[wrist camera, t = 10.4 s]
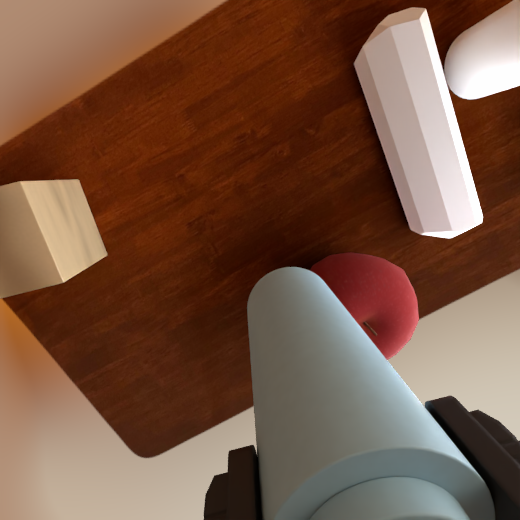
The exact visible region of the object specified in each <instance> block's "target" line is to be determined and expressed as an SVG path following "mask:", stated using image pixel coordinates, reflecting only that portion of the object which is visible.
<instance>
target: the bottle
mask: <svg viewBox="0 0 520 520" xmlns="http://www.w3.org/2000/svg"><path fill="white" fill-rule="evenodd" d="M247 314H248V328H249V343H250V357H251V371H252V385H253V400H254V413H255V428H256V442H257V457H258V471H259V485H260V500H261V514H262V520H495V508H494V502H493V499H492V496H491V493H490V491H489V489H488V487H487V485H486V484H485V482H484V480H483V479H482V478H481V477H480V475H479V474H478V473H477V472H476V470H475V469H474V468H473V467H472V465H471V464H470V463H469V462H468V460H467V459H466V458H465V457H464V455H463V454H462V453H461V452H460V450H459V449H458V448H457V447H456V445H455V444H454V443H453V442H452V440H451V439H450V438H449V437H448V435H447V434H446V433H445V432H444V430H443V429H442V428H441V427H440V425H439V424H438V423H437V422H436V420H435V419H434V418H433V417H432V415H431V414H430V413H429V412H428V410H427V409H426V408H425V407H424V405H423V404H422V403H421V402H420V400H418V398H417V397H416V395H415V394H414V393H413V392H412V391H411V389H410V388H409V387H408V386H407V384H406V383H405V382H404V381H403V380H402V378H401V377H400V376H399V374H398V373H397V372H396V371H395V369H394V368H393V367H392V366H391V364H390V363H389V362H388V361H387V359H386V358H385V357H384V356H383V354H382V353H381V352H380V351H379V349H378V348H377V347H376V346H375V344H374V343H373V342H372V341H371V339H370V338H369V337H368V336H367V334H366V333H365V332H364V331H363V329H362V328H361V327H360V326H359V324H358V323H357V322H356V321H355V319H354V318H353V317H352V316H351V314H350V313H349V312H348V311H347V309H346V308H345V307H344V306H343V304H342V303H341V302H340V301H339V299H338V298H337V297H336V296H335V295H334V293H333V292H332V291H331V290H330V288H329V287H328V286H327V285H326V283H325V282H324V281H323V280H322V279H321V278H320V277H319V276H318V275H316V274H315V273H314V272H312V271H310V270H307V269H304V268H299V267H285V268H280V269H277V270H274V271H272V272H270V273H268V274H267V275H265V276H264V277H263V278H261V279H260V280H259V281H258V282H257V283H256V285H255V286H254V288H253V289H252V291H251V293H250V296H249V299H248V304H247Z"/></svg>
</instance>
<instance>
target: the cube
mask: <svg viewBox="0 0 520 520" xmlns="http://www.w3.org/2000/svg"><path fill="white" fill-rule="evenodd" d="M106 256H107V252H106V249H105V247H104V244H103V242H102V239H101V236H100V234H99V231H98V229H97V226H96V223H95V221H94V218H93V216H92V213H91V210H90V208H89V205H88V203H87V200H86V197H85V195H84V192H83V190H82V187H81V184H80V182H79V179H72V180H43V181H19V182H15V183H11V184H7V185H3V186H0V298H4V297H8V296H12V295H16V294H20V293H24V292H28V291H32V290H36V289H40V288H44V287H48V286H52V285H56V284H60V283H64V282H65V281H67V280H69V279H70V278H72V277H73V276H75V275H77V274H78V273H80V272H81V271H83V270H85V269H86V268H88V267H89V266H91V265H93V264H94V263H96V262H98V261H99V260H101V259H102V258H104V257H106Z"/></svg>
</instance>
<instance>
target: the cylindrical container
mask: <svg viewBox="0 0 520 520" xmlns="http://www.w3.org/2000/svg"><path fill="white" fill-rule="evenodd" d="M444 72H445V78H446V81H447V84H448V86H449V88H450V89H451V90H452V91H453V92H454V93H455V94H456V95H457V96H459V97H461V98H464V99H478V98H481V97H485V96H488V95H491V94H494V93H497V92H501V91H504V90H507V89H510V88H513V87H517V86H520V0H513V1H512V2H510V3H509V4H507V5H505V6H504V7H502V8H501V9H499V10H497V11H496V12H494V13H493V14H491V15H490V16H488V17H486V18H485V19H483V20H482V21H480V22H478V23H477V24H475V25H474V26H472V27H470V28H469V29H467V30H466V31H464V32H463V33H462V34H460V35H459V36H458V37H457V38H456V39H455V40H454V42H453V43H452V45H451V46H450V48H449V50H448V52H447V55H446V59H445V65H444Z"/></svg>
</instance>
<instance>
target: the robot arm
mask: <svg viewBox="0 0 520 520" xmlns="http://www.w3.org/2000/svg"><path fill="white" fill-rule="evenodd" d="M425 408H426V409H427V410H428V412H429V413H430V414H431V415H432V417H433V418H434V419H435V420H436V422H437V423H438V424H439V425H440V427H441V428H442V429H443V430H444V432H445V433H446V434H447V435H448V437H449V438H450V439H451V440H452V442H453V443H454V444H455V445H456V447H457V448H458V449H459V450H460V452H461V453H462V454H463V455H464V457H465V458H466V459H467V460H468V462H469V463H470V464H471V465H472V467H473V468H474V469H475V470H476V472H477V473H478V474H479V475H480V477H481V478H482V479H483V480H484V482H485V484H486V485H487V487H488V489H489V491H490V493H491V496H492V499H493V502H494V508H495V520H520V441H518V440H517V439H516V437H515V436H514V435H513V434H512V433H511V432H510V431H509V430H508V429H507V428H506V427H505V426H504V425H502V424H501V423H500V422H499V421H498V420H496V419H494V418H492V417H490V416H488V415H487V414H485V413H483V412H481V411H479V410H475V411H472V412H468V411H467V410H466V409H465V408H464V407H463V406H462V404H460V402H459V401H458V400H457V399H456V398H454V397H452V396H447V397H443V398H439V399H435V400H431V401H427V402H425ZM204 520H262V514H261V500H260V485H259V471H258V457H257V454H256V450H255V447H254V445H250V446H246V447H243V448H239V449H235V450H231V451H229V454H228V472H227V473H223V474H219V475H216V476H214V478H213V480H212V482H211V484H210V487H209V489H208V491H207V493H206V498H205V507H204Z"/></svg>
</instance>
